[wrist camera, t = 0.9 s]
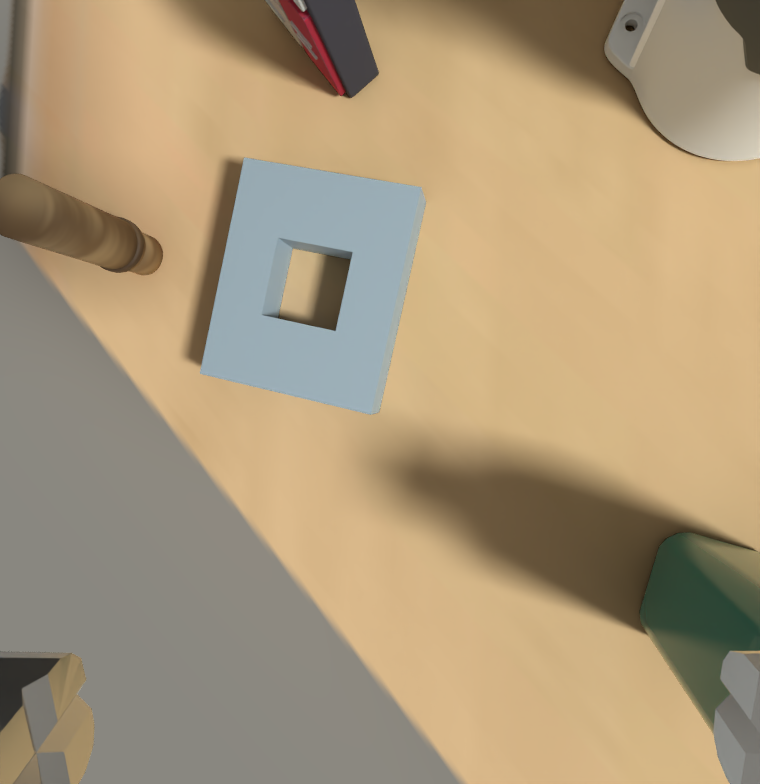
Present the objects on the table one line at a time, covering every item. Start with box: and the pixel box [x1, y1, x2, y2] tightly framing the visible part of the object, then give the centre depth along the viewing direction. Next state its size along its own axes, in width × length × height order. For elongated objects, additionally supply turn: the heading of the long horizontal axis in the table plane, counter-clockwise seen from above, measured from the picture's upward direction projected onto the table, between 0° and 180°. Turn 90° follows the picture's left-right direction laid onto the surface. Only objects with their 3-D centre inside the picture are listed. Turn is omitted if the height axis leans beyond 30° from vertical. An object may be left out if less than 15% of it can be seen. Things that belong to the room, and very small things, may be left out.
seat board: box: [200, 158, 426, 415], centre depth 45 cm, size 17×14×4 cm
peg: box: [0, 174, 163, 275], centre depth 43 cm, size 4×4×14 cm
